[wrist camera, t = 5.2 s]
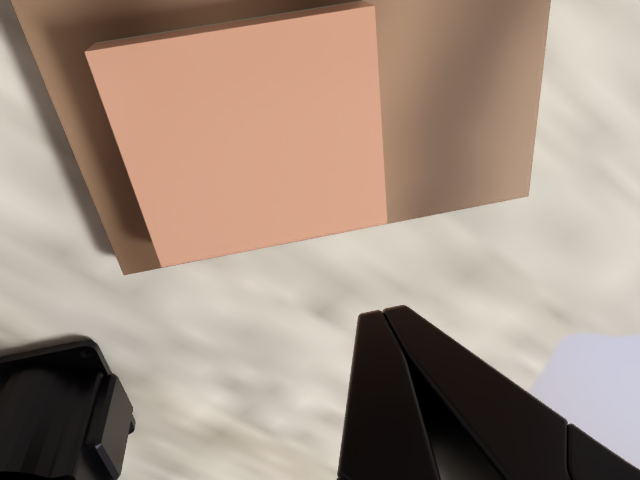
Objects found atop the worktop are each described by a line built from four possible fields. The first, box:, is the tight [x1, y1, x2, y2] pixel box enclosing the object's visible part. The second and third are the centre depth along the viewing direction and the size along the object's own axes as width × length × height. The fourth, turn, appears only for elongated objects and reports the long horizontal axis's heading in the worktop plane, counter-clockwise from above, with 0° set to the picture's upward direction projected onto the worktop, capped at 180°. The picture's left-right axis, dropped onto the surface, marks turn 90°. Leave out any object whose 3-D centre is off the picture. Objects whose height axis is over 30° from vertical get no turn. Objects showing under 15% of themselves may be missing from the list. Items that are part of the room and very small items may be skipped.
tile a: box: [85, 0, 387, 267], centre depth 18 cm, size 2×8×9 cm
